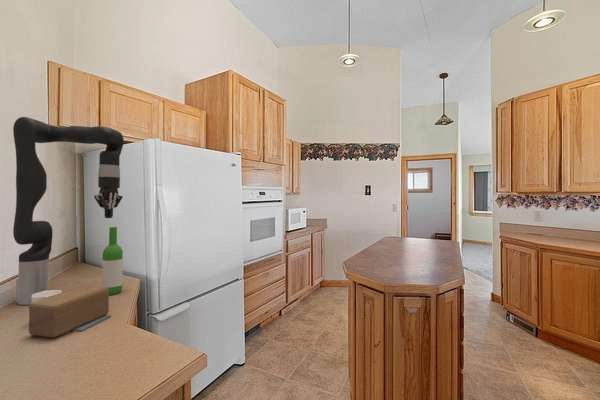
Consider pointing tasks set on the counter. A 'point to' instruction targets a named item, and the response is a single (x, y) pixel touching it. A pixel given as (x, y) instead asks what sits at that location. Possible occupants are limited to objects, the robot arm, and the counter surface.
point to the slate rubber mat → (91, 323)
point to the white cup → (45, 295)
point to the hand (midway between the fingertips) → (108, 218)
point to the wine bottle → (112, 264)
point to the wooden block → (67, 310)
